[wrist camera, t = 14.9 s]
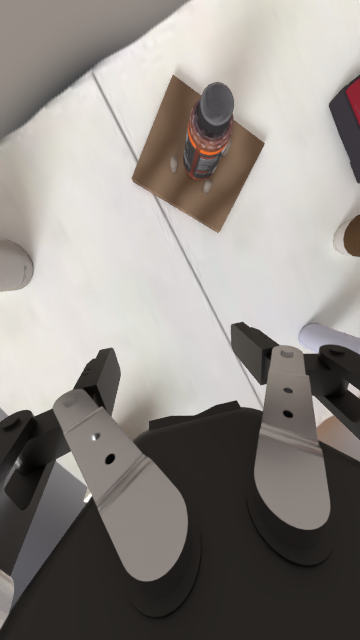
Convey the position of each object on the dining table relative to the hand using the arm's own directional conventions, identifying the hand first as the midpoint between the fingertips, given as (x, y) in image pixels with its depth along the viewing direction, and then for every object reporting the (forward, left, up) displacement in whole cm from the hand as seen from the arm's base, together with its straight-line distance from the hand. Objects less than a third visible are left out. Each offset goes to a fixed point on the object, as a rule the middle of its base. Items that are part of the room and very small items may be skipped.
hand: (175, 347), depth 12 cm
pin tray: (-6, +24, -27) cm, 36 cm away
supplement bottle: (-6, +24, -26) cm, 36 cm away
